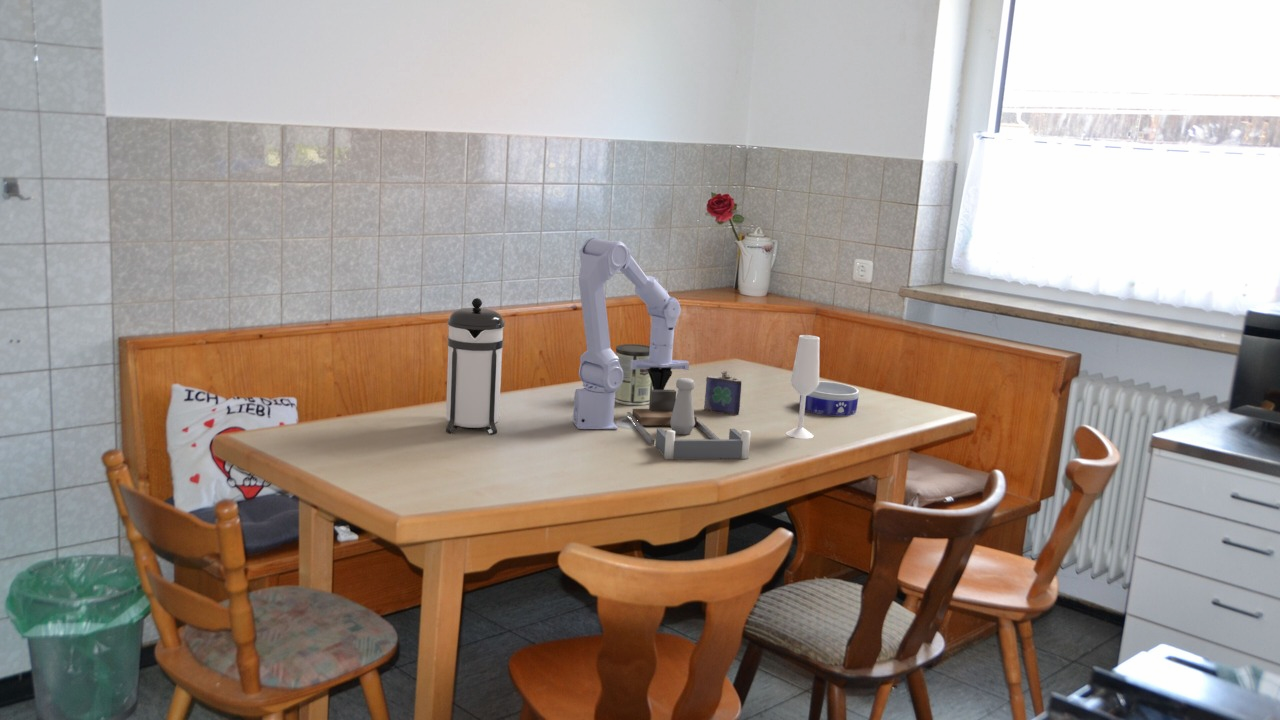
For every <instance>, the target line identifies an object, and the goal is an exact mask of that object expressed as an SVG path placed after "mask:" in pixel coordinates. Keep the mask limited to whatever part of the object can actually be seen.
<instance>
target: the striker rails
mask: <svg viewBox="0 0 1280 720" xmlns="http://www.w3.org/2000/svg"><path fill="white" fill-rule="evenodd" d="M626 416H629V417H631V418H632V420H633V422H634V423H635V425H636V427H635V429H637V431H638V432H639V433H640V434H641V436H642V437H643V438H644V439H645V440H646V442H647V443H648V444H649V445H650V446H655V443H656V439H655V438H653V436H651V434H650V433H649V432H648V431H647V430H646V428H645V427H644V425H641V424H640V423H639V422H638V421H637V419H636V418H635V417H634V416H633V415H632V412H631V411H626ZM695 426H696V427H698V429H700V430H701V432H703V434H705V435H706V436H707V437H708V438H709V439H720V438H719V437H718V436H717V435H716V434H715V433H714V432H713V431H712V430H710V429H709V428H708V426H706V425H705V424H704V423H703V422H702V421H701V420H700V419H699V418H698V417H697V421H696V425H695Z"/></svg>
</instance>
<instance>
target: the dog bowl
mask: <svg viewBox="0 0 1280 720" xmlns="http://www.w3.org/2000/svg"><path fill="white" fill-rule="evenodd" d="M859 395H860V391H859V389H858V388H856V387H855V386H852V385H848V384H846V383H840V382H836V381H835V382H834V381H825V380H819V385H818V387H817V388H816V389H815V390H814V391H813V392H812V393H810V394H809V395H807V396H806V401H805V411H806V412H809V413H812V414H817V415H820V416H821V415H823V416H831V417H846V416H851V415H852V416H853V415H854V414H856V413H857V408H858V401H859ZM799 396H800V397H799V403H800V402H801V395H800V394H799Z"/></svg>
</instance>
